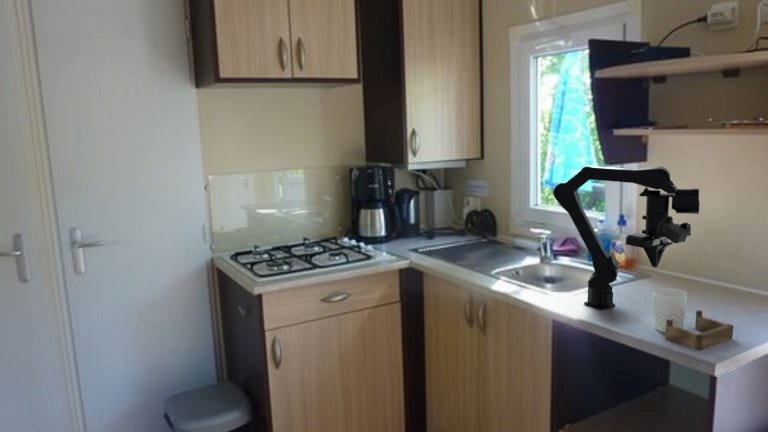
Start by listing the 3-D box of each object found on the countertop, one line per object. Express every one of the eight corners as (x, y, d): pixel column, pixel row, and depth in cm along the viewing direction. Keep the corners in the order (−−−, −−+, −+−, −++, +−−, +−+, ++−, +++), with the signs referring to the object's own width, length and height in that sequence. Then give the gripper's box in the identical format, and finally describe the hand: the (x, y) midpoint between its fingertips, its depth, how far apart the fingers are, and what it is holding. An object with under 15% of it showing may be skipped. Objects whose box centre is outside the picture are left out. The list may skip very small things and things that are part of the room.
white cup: (645, 327, 156) (646, 291, 155) (664, 321, 160) (666, 286, 158) (672, 336, 150) (674, 298, 148) (691, 330, 153) (693, 293, 152)
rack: (665, 339, 148) (666, 320, 147) (697, 328, 155) (699, 309, 154) (699, 350, 140) (700, 330, 140) (732, 338, 147) (733, 319, 146)
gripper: (661, 220, 152) (659, 278, 155) (705, 212, 161) (702, 267, 164) (625, 214, 162) (623, 269, 164) (668, 207, 171) (666, 259, 173)
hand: (654, 266), depth 166 cm, fingers closed
